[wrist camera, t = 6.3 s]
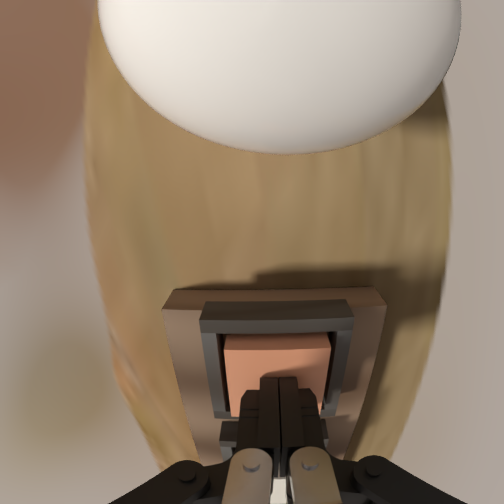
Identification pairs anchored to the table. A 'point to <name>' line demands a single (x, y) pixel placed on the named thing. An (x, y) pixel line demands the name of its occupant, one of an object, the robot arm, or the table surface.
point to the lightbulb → (282, 66)
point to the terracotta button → (275, 362)
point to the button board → (269, 322)
